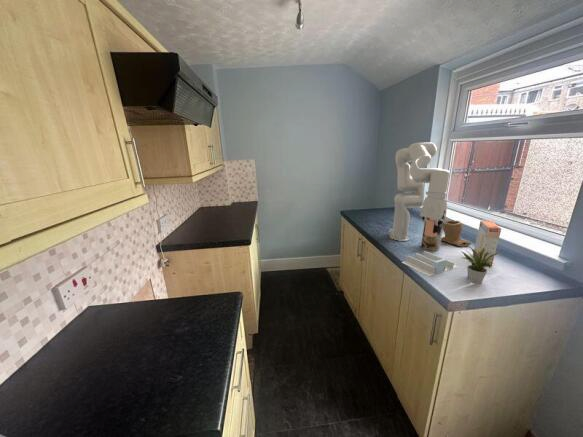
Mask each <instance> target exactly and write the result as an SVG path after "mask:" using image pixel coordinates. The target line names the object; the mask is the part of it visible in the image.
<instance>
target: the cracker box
mask: <svg viewBox="0 0 583 437" xmlns="http://www.w3.org/2000/svg"><path fill="white" fill-rule="evenodd" d="M478 226H479V227H478V230H477V235H476V240H475V245H474V248H473V249H475V250H476V251H475V252H477V253H476V254H478V256H479V257H480V252H481V250H482V249H483V247H485V250H484V253H483V255H482V256H483V257H484V255H485V254H486V252H487V251H488V253H489V254H487V255H486V257H485V259H486V258H488V257H489V256H491V255H493V254H496V251H497V247H498V244H499V239H500V235H501V232H502V228H501V227H500V226H499V225H497V223H495V222H494V221H493V220H480V223H479V225H478ZM472 256H474V253H473V252H472ZM475 257H476V256H475ZM483 257H482V259H483ZM492 258H493V259H492ZM490 259H491V260H490ZM490 259H488V260H489V261H488V260H487V261H486V262H492V263H494V259H495V256H493V257H491V258H490ZM489 265H492V266H493V264H489Z"/></svg>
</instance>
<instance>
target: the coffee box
mask: <svg viewBox="0 0 583 437" xmlns="http://www.w3.org/2000/svg"><path fill="white" fill-rule="evenodd" d="M424 225H425V223H424ZM424 225H423V226H424ZM443 226H444V225H443V224H441V225H440V227H439V231H438V232H437V236H434V237H430V236H427V235H424V232H425V230H424V229H423V232H422V238H421V242H420V243H421V244H420V248H421V249H425V250H429V251H433V252H438V251H440V247H441V243H442V242H441V241H442V240H441V238H442V235H443V232H444V229H443Z"/></svg>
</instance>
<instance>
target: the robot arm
mask: <svg viewBox="0 0 583 437" xmlns="http://www.w3.org/2000/svg"><path fill="white" fill-rule="evenodd" d="M436 155H437V146H436V144H435V143H434V142H426V141H425V142H415V143H412V144H409V146H408V147H407V148H406V147H404V148H400V149H398V150H397V151H396V153H395V164H396V169H397V181H396V182H397V190H398V191H400V192H401V193H397V194H396V195H395V196H394V200H393V201H394V215H393V226H392V228H390V229H389V230H388V233H390V234H389V238H390V239H391V240H393V239H394V241H396V240H398V241H397V242H408V241H410V239H411V238H410V236H409V234H408V233H409V226H410V218H411V213H410V211H409V210H408V208H409V209H410V208H411V209H412V208H414V209H415V208H421V212H420V213H419V217H420V218H421V219H422V220H423V223H424V224H425V225H426V220H427V219H434V220H435V225H434V229H433V233H437V232H438V231H439V227H440V225H443V223H445V222H448V220H449V219H448V217H447V210H448V208H447V207H448V203H447V202H448V201H447V199H446V197H447V190H448V185H449V184H448V183H449V178H450V171H449V169H443V168H442V167H426V166H428V165H429V164H430V163H431V162H432V158H433V157H435V156H436ZM409 163H411V164H409ZM426 184H428V190H427V191H425V185H426ZM425 195H426V197H425ZM425 225H423V231H424V230H425Z"/></svg>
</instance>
